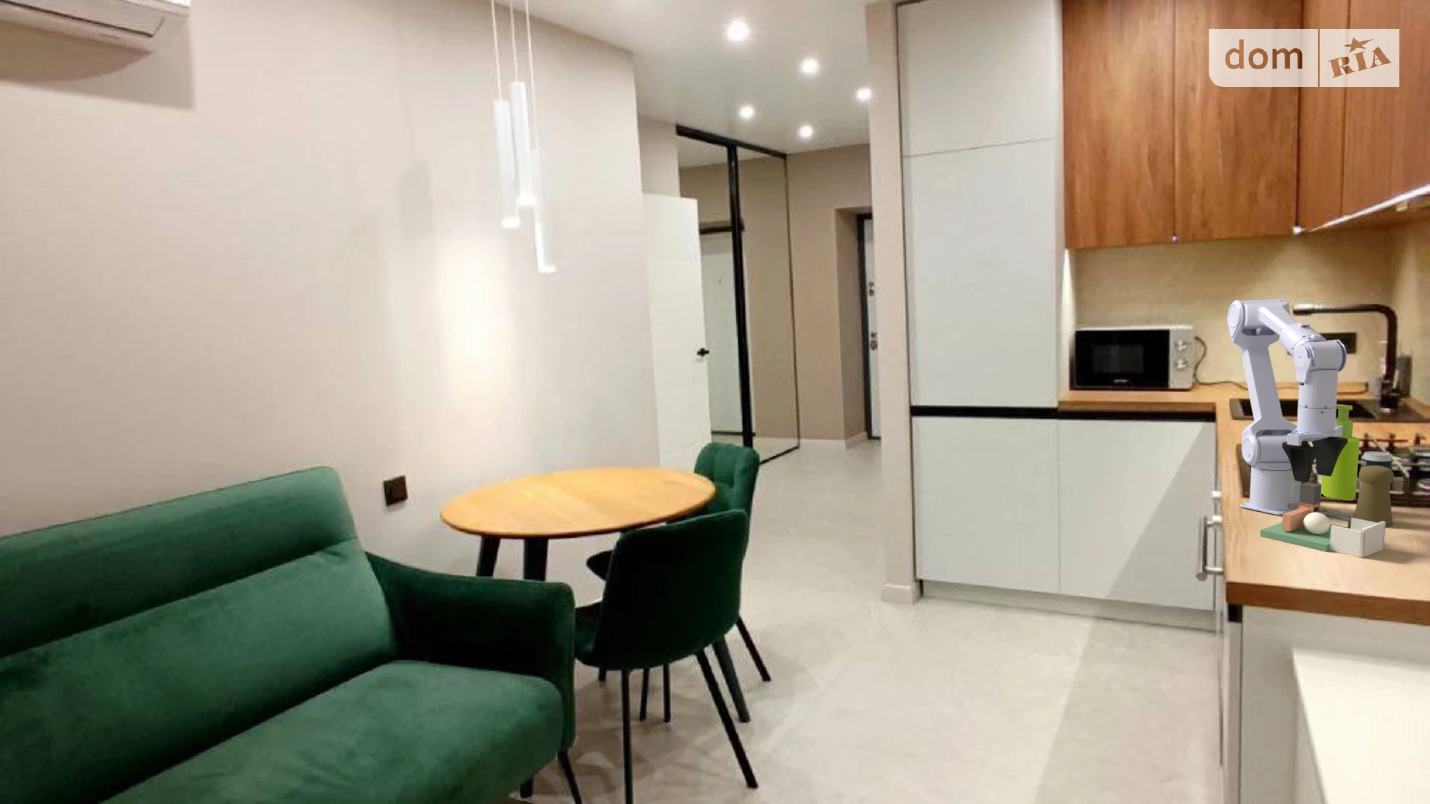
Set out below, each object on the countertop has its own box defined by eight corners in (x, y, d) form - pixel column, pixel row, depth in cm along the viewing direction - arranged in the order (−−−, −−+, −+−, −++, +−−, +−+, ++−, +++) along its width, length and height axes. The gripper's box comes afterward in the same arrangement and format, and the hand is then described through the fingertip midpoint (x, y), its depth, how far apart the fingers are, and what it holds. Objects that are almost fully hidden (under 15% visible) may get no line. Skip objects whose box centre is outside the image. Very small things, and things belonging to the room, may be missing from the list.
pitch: (1297, 522, 162) (1298, 516, 162) (1363, 536, 153) (1363, 530, 153) (1260, 535, 156) (1260, 529, 156) (1326, 551, 147) (1326, 545, 146)
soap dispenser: (1314, 492, 181) (1320, 402, 178) (1354, 496, 177) (1361, 403, 174) (1314, 499, 176) (1320, 406, 173) (1355, 503, 172) (1362, 408, 169)
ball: (1309, 529, 155) (1311, 508, 154) (1334, 534, 151) (1335, 513, 151) (1298, 533, 153) (1299, 512, 152) (1322, 538, 150) (1323, 517, 149)
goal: (1351, 541, 151) (1352, 515, 150) (1383, 549, 146) (1385, 521, 146) (1329, 550, 147) (1331, 522, 146) (1362, 557, 143) (1364, 529, 142)
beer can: (1359, 507, 170) (1363, 449, 168) (1389, 511, 166) (1394, 452, 164) (1355, 512, 166) (1359, 454, 164) (1386, 517, 163) (1390, 457, 161)
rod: (1290, 519, 161) (1291, 502, 160) (1355, 533, 151) (1356, 515, 151) (1286, 520, 160) (1287, 503, 160) (1352, 535, 151) (1353, 516, 150)
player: (1305, 519, 159) (1307, 482, 158) (1319, 522, 157) (1321, 484, 156) (1278, 528, 155) (1281, 490, 154) (1292, 532, 153) (1295, 493, 151)
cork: (1375, 516, 163) (1379, 462, 162) (1401, 526, 157) (1405, 469, 156) (1345, 518, 163) (1348, 464, 161) (1370, 528, 157) (1374, 471, 155)
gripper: (1318, 413, 146) (1314, 488, 148) (1362, 404, 153) (1358, 476, 155) (1276, 409, 153) (1273, 481, 155) (1320, 400, 159) (1316, 469, 161)
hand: (1313, 478), depth 155 cm, fingers open, 7 cm apart
